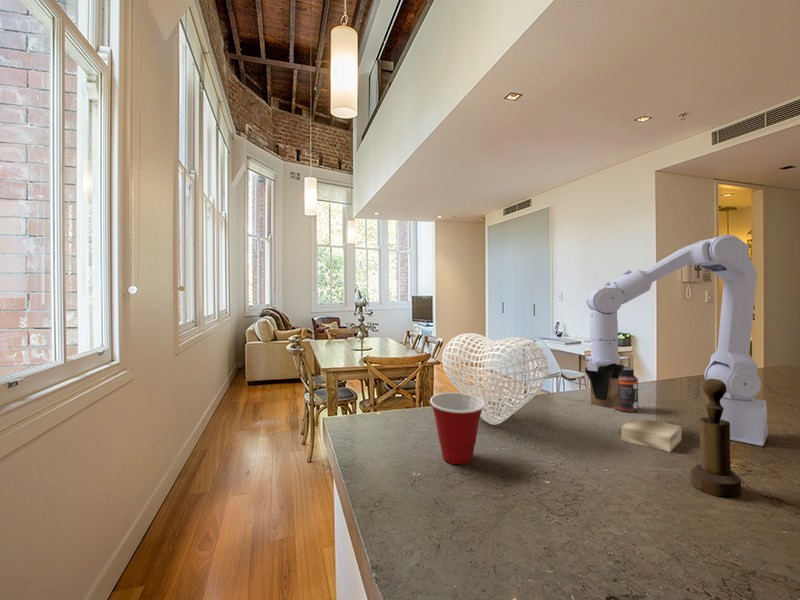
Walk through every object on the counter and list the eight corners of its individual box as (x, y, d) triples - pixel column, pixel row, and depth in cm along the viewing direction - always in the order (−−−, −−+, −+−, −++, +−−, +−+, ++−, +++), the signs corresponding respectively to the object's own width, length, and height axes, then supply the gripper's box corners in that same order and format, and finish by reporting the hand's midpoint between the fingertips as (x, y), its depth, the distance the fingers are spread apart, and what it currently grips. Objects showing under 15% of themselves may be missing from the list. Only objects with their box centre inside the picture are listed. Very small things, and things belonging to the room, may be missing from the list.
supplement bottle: (643, 412, 105) (642, 370, 104) (620, 413, 105) (620, 370, 105) (630, 406, 111) (630, 366, 110) (609, 406, 111) (608, 366, 110)
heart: (562, 431, 92) (560, 336, 92) (523, 449, 82) (521, 343, 82) (470, 406, 114) (469, 329, 113) (431, 417, 104) (429, 334, 104)
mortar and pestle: (692, 474, 70) (691, 373, 69) (740, 485, 65) (740, 377, 65) (689, 490, 64) (688, 380, 64) (742, 502, 60) (741, 385, 60)
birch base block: (681, 439, 85) (681, 426, 85) (670, 452, 79) (669, 437, 79) (635, 429, 92) (635, 417, 92) (621, 440, 86) (621, 426, 86)
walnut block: (618, 404, 92) (618, 378, 92) (611, 408, 89) (611, 382, 89) (598, 400, 96) (598, 376, 96) (591, 404, 93) (590, 379, 93)
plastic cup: (451, 476, 71) (449, 410, 71) (420, 455, 80) (419, 396, 80) (498, 463, 76) (496, 401, 76) (464, 444, 85) (463, 389, 85)
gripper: (598, 335, 100) (599, 388, 100) (573, 341, 90) (574, 400, 91) (629, 337, 95) (629, 393, 95) (606, 343, 85) (606, 406, 85)
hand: (604, 397), depth 93 cm, fingers closed on walnut block, 4 cm apart
